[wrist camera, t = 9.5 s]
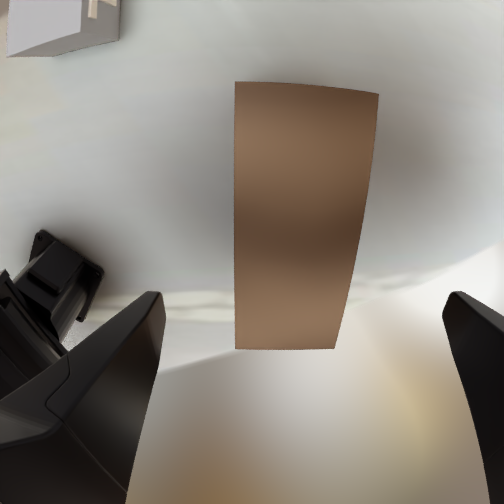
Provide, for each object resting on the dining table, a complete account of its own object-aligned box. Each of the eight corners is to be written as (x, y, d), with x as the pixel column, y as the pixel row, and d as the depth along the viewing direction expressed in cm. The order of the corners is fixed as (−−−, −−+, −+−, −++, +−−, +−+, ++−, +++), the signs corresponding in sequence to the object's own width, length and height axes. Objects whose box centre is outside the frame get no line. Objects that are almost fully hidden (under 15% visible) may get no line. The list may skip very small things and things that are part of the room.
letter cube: (53, 56, 15) (6, 57, 11) (56, -8, 12) (12, -20, 8) (121, 40, 15) (82, 31, 11) (125, -29, 12) (90, -53, 8)
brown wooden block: (312, 265, 23) (334, 348, 16) (240, 264, 23) (235, 348, 16) (329, 88, 17) (378, 93, 10) (243, 83, 17) (234, 81, 10)
